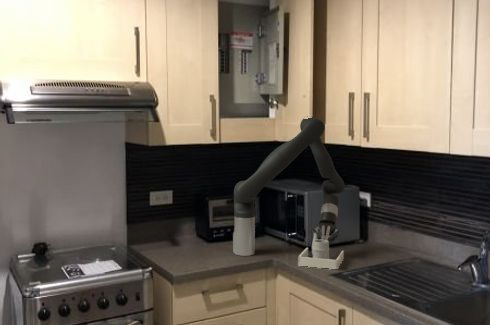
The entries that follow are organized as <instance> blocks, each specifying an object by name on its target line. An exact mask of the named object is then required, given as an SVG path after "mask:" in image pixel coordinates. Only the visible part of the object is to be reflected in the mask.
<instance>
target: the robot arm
mask: <svg viewBox="0 0 490 325" xmlns="http://www.w3.org/2000/svg"><path fill="white" fill-rule="evenodd" d="M311 117H312V118H308V119H304V118H302V119H301V121H300V124H299V127H300V132H299V133H297V135H295V137H293V138H292V139H290V140H288V141H286V142H284V143H282V144H281V145H279V146H278V147H276V148H275V149H274V150H273V151H271V153H269V155H267V157H266V158H265V159H264V160H263V162H261V164H260V165H259V167H258V168H257V170H256V171H255V172H254V173H253V174H252V175H251V176H249V177H248V178H247V179H246V180H241V181H239V182H237V183H235V186H234V189H233V210H234V212H233V213H234V231H233V233H232V252H233V253H234V254H235V255H236V256H242V257H244V256H245V257H246V256H248V257H249V256H252V255H255V252H256V251H255V246H256V245H255V241H256V238H255V237H256V236H255V235H256V234H255V233H256V231H255V230H256V225H255V224H256V223H255V222H256V221H255V220H256V219H255V216H256V214H255V213H256V212H255V198H256V197H257V195H258V194H259V193H260V192H261V190H263V188H264V187H265V186H266V185H268V183H270V182H271V181H272V180H273V179H275V178H276V176H278V175H279V174H280V173H281V172H282V171H284V170H285V169H286V168H287V167H288V166H289V165H290V164H291V163H292V162H294V160H296V158H297V157H298V156H299V155H300V154H301V153H302V152H304V150H305V149H307V148H308V147H310V149H311V152H312V154H313V157H314V160H315V163H316V165H317V168H318V171H319V174H320V175H321V178H324V179H327V180H324V181H323V183H322V184H321V190H322V197H323V199H322V200H323V201H322V205H321V206H322V207H321V210H320V215H319V222H318V225H317V226H316V227H315V228H314V227H313V228H312V229H311V230H312V233H313V234H314V233H316V234H317V239H323V240H328V241H329V243H333V242H334V241H335V240H336V239H337V238H338V237H340V235H341V230H340V229H337V220H338V212H339V211H338V210H339V200H340V199H339V197H338V194H343V193H344V191H345V189H346V184H345V183H344V180H343V178H342V177H341V176H340V174H339V173H338V172H337V171H336V168H335V164H334V163H333V160H332V157H331V156H330V153H329V152H328V150H327V148H326V147H325V145H324V143H323V141H322V142H321V140H322V138H320V137H322V135H324V132H325V123H324V121H322V120H321V119H318V118H317V117H315V116H311ZM319 233H320V234H319Z"/></svg>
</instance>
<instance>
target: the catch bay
mask: <svg viewBox="0 0 490 325" xmlns="http://www.w3.org/2000/svg"><path fill="white" fill-rule="evenodd" d="M344 254H345V251H344V250H341V252H340V253H339V255H338V256H337V257H336V259H331V258H330V259H321V258H313V257H310V256H309V247H306V248H305V249H304V250H302V252H301V253H300V254H299V255H298V256H297V266H298V267H300V266H308V267H307V268H310V267H317V268H316V269H321V268H329V269H328V270H331V269H338V270H339V268H340V267H341V265H342V264H343V262H344V260H343V259H344V257H345V255H344ZM342 261H343V262H342ZM340 264H341V265H340ZM339 266H340V267H339Z"/></svg>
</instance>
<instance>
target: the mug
mask: <svg viewBox="0 0 490 325" xmlns="http://www.w3.org/2000/svg"><path fill="white" fill-rule="evenodd" d="M311 244H312V245H311V254H312V258H321V259H331V258H330V242H329V241H328V240H323V239H317V234H316V233H313V239H312V243H311Z"/></svg>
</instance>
